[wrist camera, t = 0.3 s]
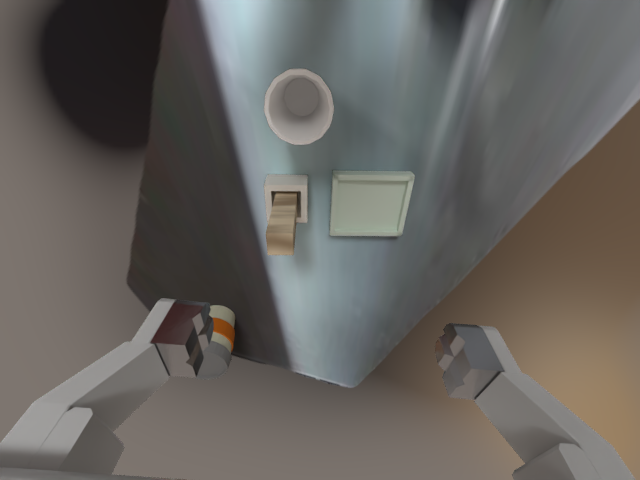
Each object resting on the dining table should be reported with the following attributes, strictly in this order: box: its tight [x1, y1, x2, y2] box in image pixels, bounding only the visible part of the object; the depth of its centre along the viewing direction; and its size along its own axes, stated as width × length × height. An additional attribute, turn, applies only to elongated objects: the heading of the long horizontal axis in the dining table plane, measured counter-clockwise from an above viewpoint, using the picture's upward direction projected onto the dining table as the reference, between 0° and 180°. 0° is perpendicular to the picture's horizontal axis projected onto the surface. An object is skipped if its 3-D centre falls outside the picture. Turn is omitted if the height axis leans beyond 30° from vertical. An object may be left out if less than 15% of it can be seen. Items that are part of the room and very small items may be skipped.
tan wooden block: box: [266, 191, 298, 255], centre depth 50 cm, size 4×4×18 cm
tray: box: [329, 170, 415, 236], centre depth 59 cm, size 14×16×2 cm
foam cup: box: [264, 68, 334, 145], centre depth 43 cm, size 10×9×13 cm
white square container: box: [264, 174, 308, 223], centre depth 56 cm, size 8×8×6 cm
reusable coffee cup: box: [193, 305, 235, 380], centre depth 72 cm, size 13×13×15 cm
